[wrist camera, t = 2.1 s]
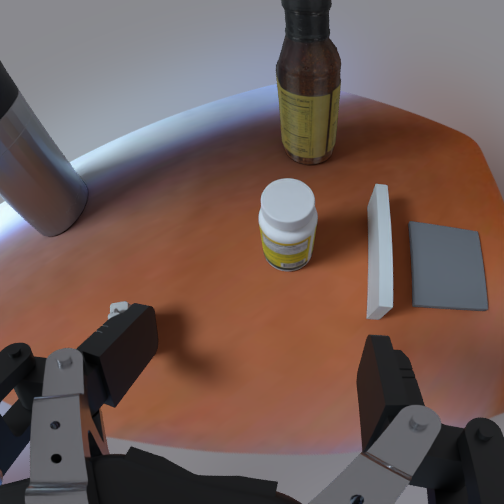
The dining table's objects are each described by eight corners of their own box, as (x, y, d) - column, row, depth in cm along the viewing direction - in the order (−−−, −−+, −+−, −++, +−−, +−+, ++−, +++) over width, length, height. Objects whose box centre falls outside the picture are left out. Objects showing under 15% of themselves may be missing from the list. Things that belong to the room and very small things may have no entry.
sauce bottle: (311, 125, 37) (315, -20, 20) (344, 154, 35) (366, -3, 17) (269, 145, 36) (255, -11, 19) (300, 177, 34) (303, 4, 16)
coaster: (412, 306, 26) (414, 304, 26) (408, 224, 30) (410, 221, 29) (485, 311, 25) (487, 309, 24) (475, 234, 29) (477, 231, 28)
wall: (366, 318, 26) (378, 306, 23) (367, 206, 31) (375, 183, 28) (378, 319, 26) (392, 307, 23) (378, 208, 31) (387, 185, 28)
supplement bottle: (282, 220, 32) (280, 164, 24) (321, 244, 30) (332, 192, 22) (253, 255, 30) (242, 205, 23) (293, 282, 29) (297, 238, 21)
